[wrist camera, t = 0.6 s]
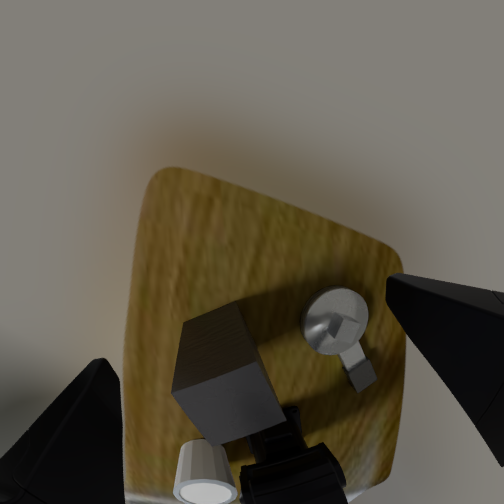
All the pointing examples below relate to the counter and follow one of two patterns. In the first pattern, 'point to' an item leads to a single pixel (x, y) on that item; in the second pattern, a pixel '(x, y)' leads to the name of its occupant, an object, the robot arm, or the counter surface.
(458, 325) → the robot arm
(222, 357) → the dark grey square block
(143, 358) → the counter surface
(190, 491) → the white tapered cup
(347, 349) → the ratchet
